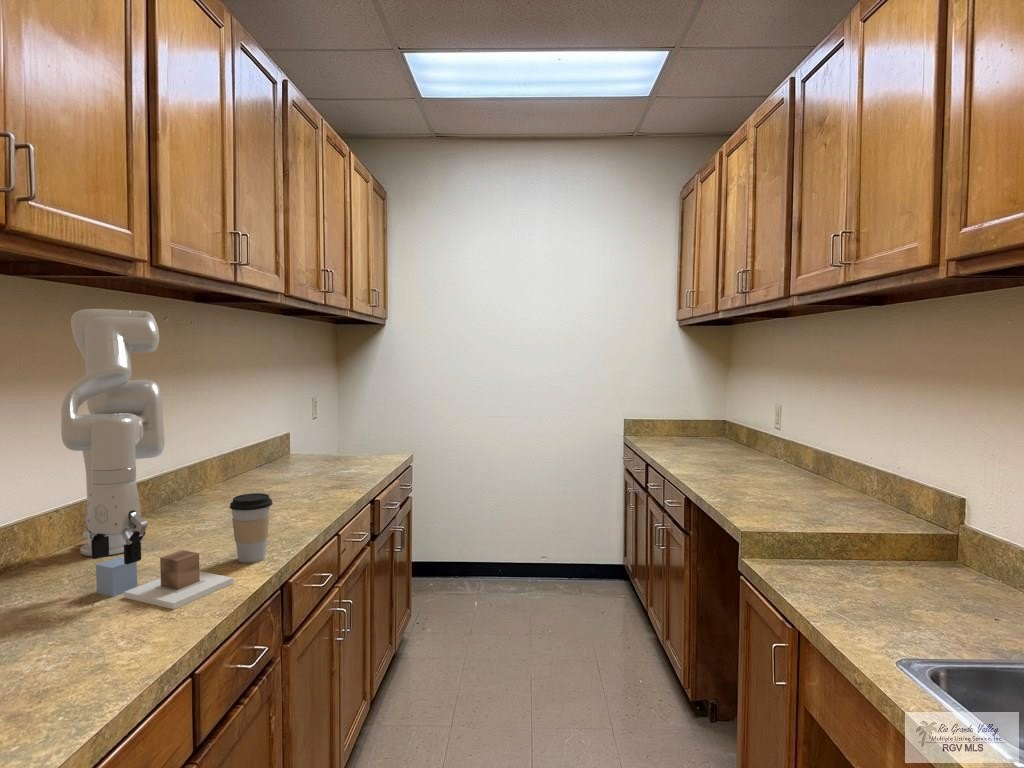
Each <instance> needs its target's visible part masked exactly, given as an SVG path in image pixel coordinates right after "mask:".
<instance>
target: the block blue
mask: <svg viewBox="0 0 1024 768" xmlns="http://www.w3.org/2000/svg"><path fill="white" fill-rule="evenodd" d="M137 562H138V561H137ZM137 562H134V563H131V564H124V556H118V557H115V558H113V559H110V560H105V561H102V562H99V563H96V564H95V576H96V577H95V578H96V580H95V581H96V583H95V584H96V594H100V595H103V596H108V597H112V598H114V597H117V596H119V594H120V595H122V594H124V592H125V591H128V590H130V589H133V588H136V587H138V570H137V569H138V568H137V567H138V566H137Z"/></svg>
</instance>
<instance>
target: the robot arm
mask: <svg viewBox="0 0 1024 768" xmlns="http://www.w3.org/2000/svg"><path fill="white" fill-rule="evenodd" d="M70 319H71V320H70V325H71V331H72V336H73V339H74V341H75V343H76V346H77V348H78V350H79V352H80V354H81V357H82V359H83V362H84V364H85V365H84V366H85V374H84V376H82V377H81V378H80V379H78V380H77V381H76V382H75V383H74V384H73V385H72V386H71V387H70V388H69V389H68V391H67V392H66V394H65V396H64V398H63V400H62V405H61V410H60V411H61V412H60V415H61V419H60V421H61V422H60V423H61V425H60V427H61V440H62V443H63V446H64V447H65V448H67V449H68V450H70V451H76V452H77V451H79V452H81V453H82V456H83V459H84V460H83V461H84V466H85V467H84V468H85V476H86V477H85V480H86V481H85V482H86V483H85V484H86V504H87V505H86V506H87V510H86V511H87V512H86V513H87V515H85V516H84V521H85V524H86V526H87V527H86V529H87V531H84V532H83V533H82V538H86V540H87V541H86V544H84V545H82V546H81V547H80V554H81V555H84V556H87V557H91V559H92V560H97V559H100V558H104V557H108V556H113V555H114V556H115V555H117V554H118V555H119V554H123V557H124V564H131V563H134V562H139V561H141V560H142V542H143V539H144V537H145V535H146V531H147V527H148V522H147V520H146V519H144V517H142V516H141V505H140V504H141V503H140V496H139V490H138V485H137V465H136V463H137V460H142V459H151V458H157V457H159V456H161V455H162V454H163V451H164V450H165V424H164V409H163V397H162V391H161V389H160V386H159V384H158V383H157V382H155V381H154V380H149V379H131V378H132V373H133V371H132V361H131V359H132V358H131V353H153V352H155V351H156V350H157V349H158V347H159V343H160V331H159V327H158V323H157V321H156V319H155V317H154V315H153V314H152V313H151V312H150V311H146V310H133V309H132V310H130V309H113V308H86V309H81V310H80V309H79V310H77V311H76V312H74V313H73V314H72V316H71V318H70ZM85 402H86V404H87V410H88V412H89V414H78V410H79V408H80V406H81V405H82V404H84V403H85ZM141 419H142V420H141Z"/></svg>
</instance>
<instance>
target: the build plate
mask: <svg viewBox="0 0 1024 768" xmlns="http://www.w3.org/2000/svg"><path fill="white" fill-rule="evenodd" d="M199 571H200V581H199V582H197V583H194V584H192V585H190V586H187V587H185V588H182V589H180V590H175V589H171V588H166V587H162V586H161V577H160V578H158V579H157V578H156V579H154V580H152V581H149V582H146V583H144V584H141V585H137V587H136V588H133V589H130V590H128V591H125V592H124V593H123V598H124V599H127V600H128V599H129V600H133V601H136V602H141V603H145V604H150V605H154V606H158V607H162V608H166V609H170V610H175V609H178V608H180V607H183V606H186V605H187V604H190V603H192V602H194V601H196V600H198V599H201V598H203V597H206V596H207V595H210V594H212V593H214V592H217V591H218V590H221V589H224V588H226V587H228V586H230V585H232V584H234V577H231V576H226V575H222V574H221V575H220V574H215V573H212V572H205V571H202V570H199Z"/></svg>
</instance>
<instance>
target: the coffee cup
mask: <svg viewBox="0 0 1024 768" xmlns="http://www.w3.org/2000/svg"><path fill="white" fill-rule="evenodd" d="M272 505H273V499H271V498H270V495H269V494H267V493H261V492H260V493H259V492H258V493H256V492H253V493H245V494H240V495H237V496H234V497H233V498H232V501H231V502H230V504H229V509H230V510H231V514H232V528H233V536H234V542H235V545H236V553H237V554H236V555H237V561H238V562H239V563H243V564H251V563H257V562H260V561H262V560H264V559H265V558H266V552H267V551H266V550H267V549H266V548H267V540H268V536H269V528H270V527H269V526H270V515H271V514H270V509H271V508H270V507H272Z"/></svg>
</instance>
